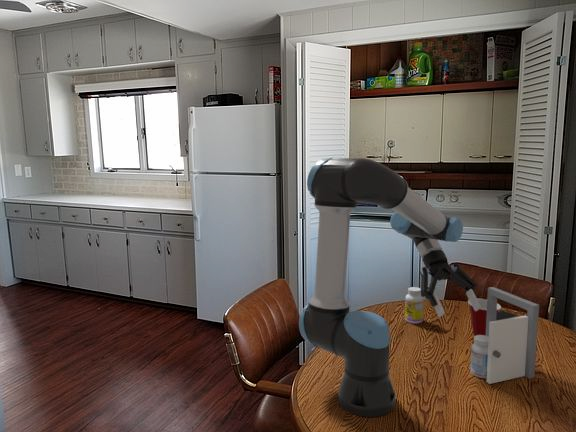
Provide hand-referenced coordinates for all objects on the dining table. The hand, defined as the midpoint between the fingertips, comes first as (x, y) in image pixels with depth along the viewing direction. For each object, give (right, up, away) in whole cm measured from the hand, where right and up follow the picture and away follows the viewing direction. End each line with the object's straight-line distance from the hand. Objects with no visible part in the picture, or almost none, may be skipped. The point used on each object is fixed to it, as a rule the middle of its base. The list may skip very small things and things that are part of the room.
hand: (460, 312), depth 139 cm
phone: (+27, -10, +33) cm, 44 cm away
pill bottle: (+3, -17, -7) cm, 19 cm away
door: (+9, -17, -12) cm, 22 cm away
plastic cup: (+15, -12, +19) cm, 27 cm away
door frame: (+14, -16, -2) cm, 21 cm away
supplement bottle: (-5, -11, +33) cm, 35 cm away
